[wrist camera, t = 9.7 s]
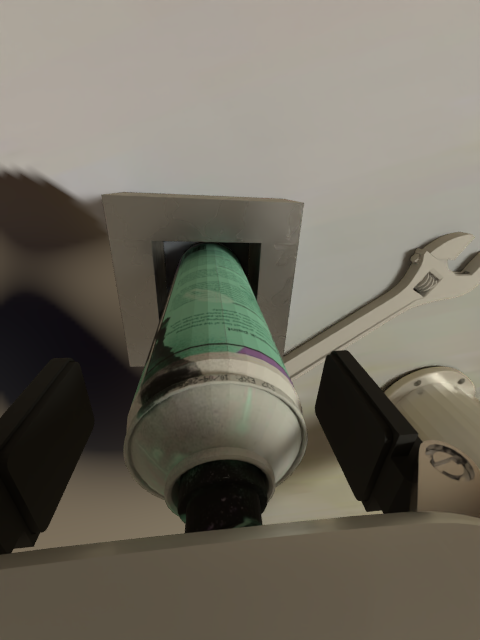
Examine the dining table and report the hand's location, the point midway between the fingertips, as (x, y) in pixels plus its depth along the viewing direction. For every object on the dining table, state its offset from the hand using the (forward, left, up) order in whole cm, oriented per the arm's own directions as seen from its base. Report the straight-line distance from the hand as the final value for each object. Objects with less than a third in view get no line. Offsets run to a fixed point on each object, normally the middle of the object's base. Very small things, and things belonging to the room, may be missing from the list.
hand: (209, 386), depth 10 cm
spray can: (0, 0, -15) cm, 15 cm away
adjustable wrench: (-15, +4, -15) cm, 22 cm away
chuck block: (0, 0, -15) cm, 15 cm away
